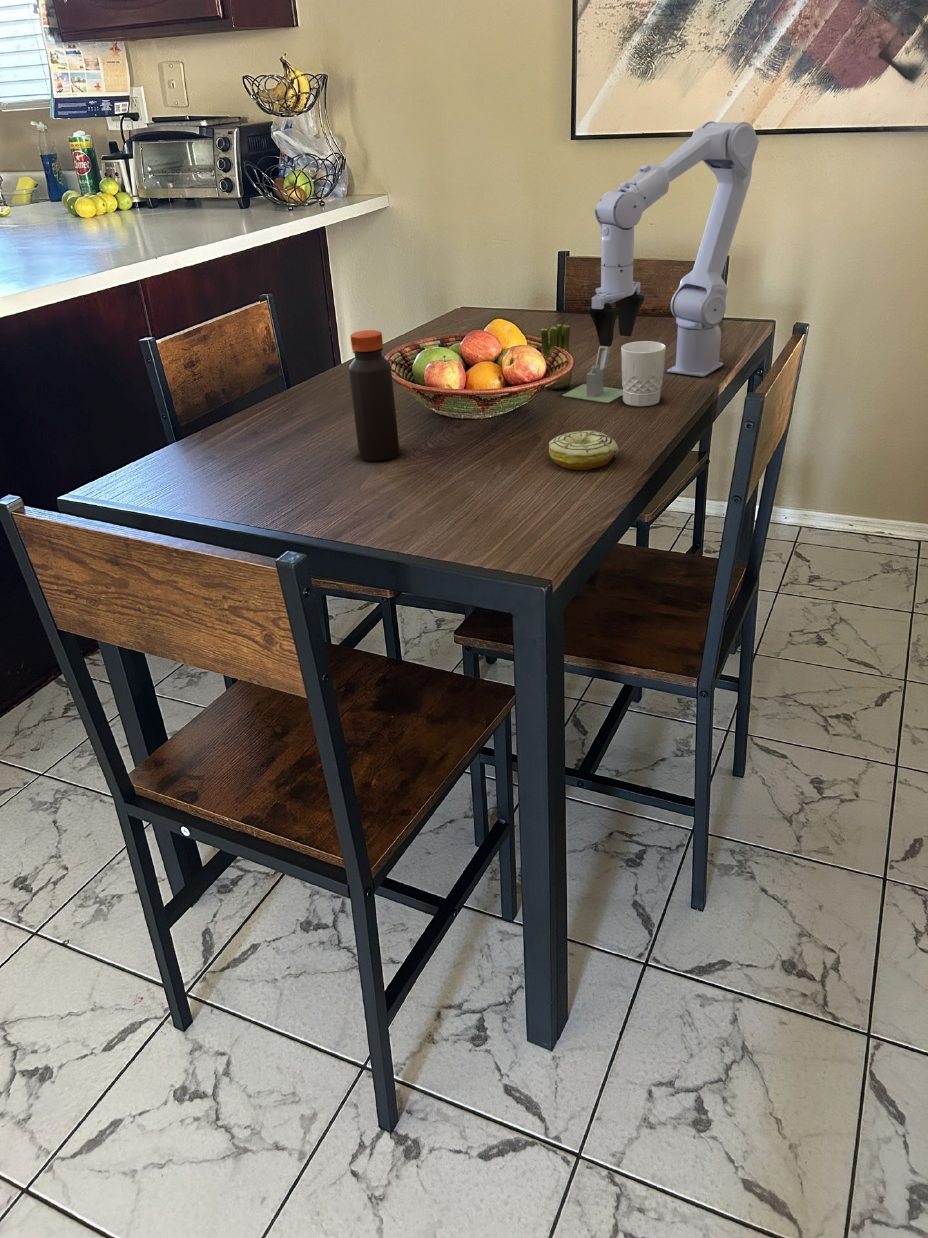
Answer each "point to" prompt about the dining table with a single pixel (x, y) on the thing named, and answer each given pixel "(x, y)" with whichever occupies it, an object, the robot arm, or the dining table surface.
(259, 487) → the dining table surface
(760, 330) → the dining table surface
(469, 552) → the dining table surface
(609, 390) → the sticky note
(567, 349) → the fennel bulb
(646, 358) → the white cup
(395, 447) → the bottle
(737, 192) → the robot arm
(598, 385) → the lighter
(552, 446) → the decorated donut
